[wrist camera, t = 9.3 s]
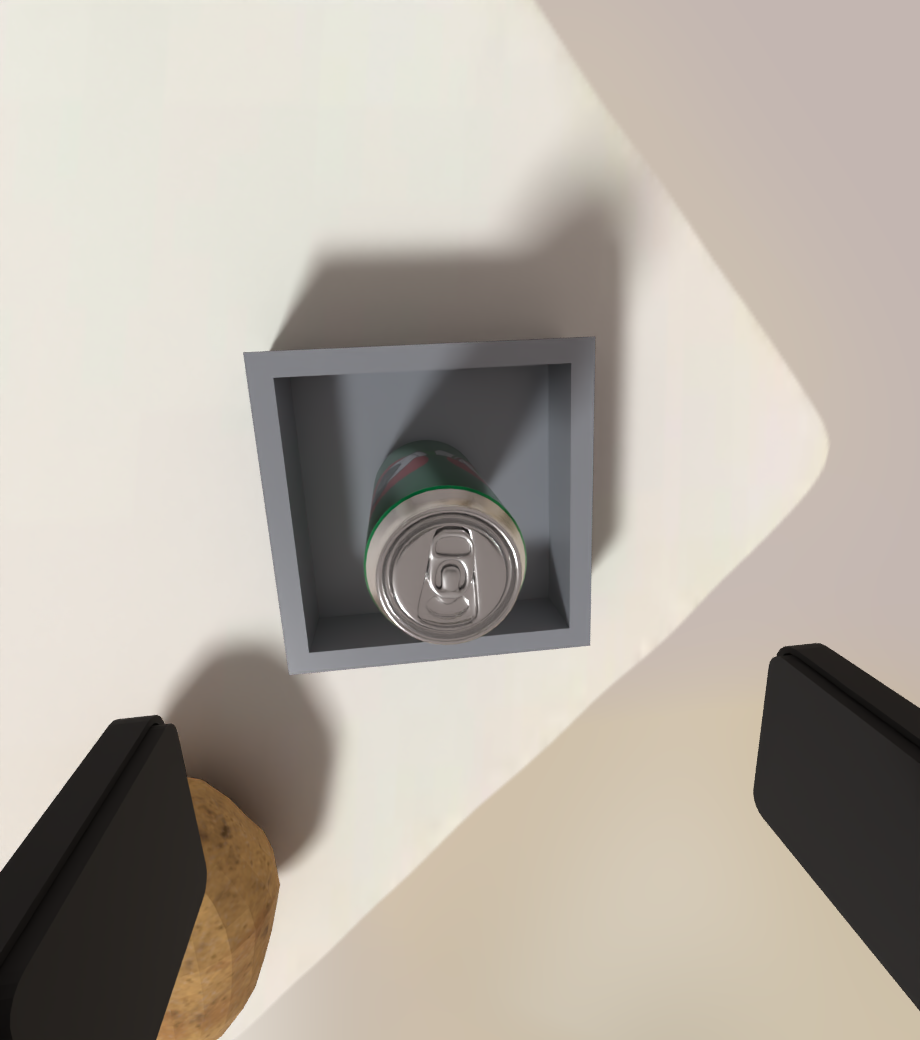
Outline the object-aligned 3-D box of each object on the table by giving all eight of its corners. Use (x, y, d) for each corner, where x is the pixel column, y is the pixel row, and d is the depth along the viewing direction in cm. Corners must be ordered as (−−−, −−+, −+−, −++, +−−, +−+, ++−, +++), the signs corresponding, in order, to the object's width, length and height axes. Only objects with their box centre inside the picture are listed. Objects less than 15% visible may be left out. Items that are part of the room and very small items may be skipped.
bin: (267, 354, 26) (242, 352, 22) (563, 340, 28) (595, 336, 23) (303, 630, 30) (289, 675, 26) (563, 606, 32) (589, 645, 27)
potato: (279, 717, 31) (243, 832, 24) (302, 917, 35) (278, 1071, 28) (90, 733, 30) (-11, 858, 23) (135, 937, 34) (61, 1102, 27)
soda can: (372, 537, 28) (360, 657, 17) (375, 435, 27) (363, 489, 16) (473, 540, 29) (527, 657, 18) (480, 440, 28) (543, 496, 16)
